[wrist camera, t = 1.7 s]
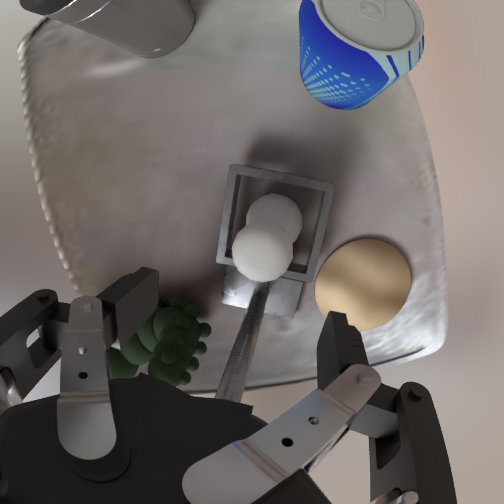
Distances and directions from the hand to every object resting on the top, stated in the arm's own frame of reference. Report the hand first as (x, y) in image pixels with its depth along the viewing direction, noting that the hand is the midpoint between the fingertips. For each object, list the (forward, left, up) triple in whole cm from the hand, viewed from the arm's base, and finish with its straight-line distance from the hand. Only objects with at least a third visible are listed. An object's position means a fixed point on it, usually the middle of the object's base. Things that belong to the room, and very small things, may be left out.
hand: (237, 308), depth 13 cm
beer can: (-17, +4, -20) cm, 27 cm away
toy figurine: (+19, -15, -20) cm, 31 cm away
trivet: (+6, +12, -20) cm, 24 cm away
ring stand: (+3, 0, -20) cm, 20 cm away
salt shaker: (0, 0, -20) cm, 20 cm away
